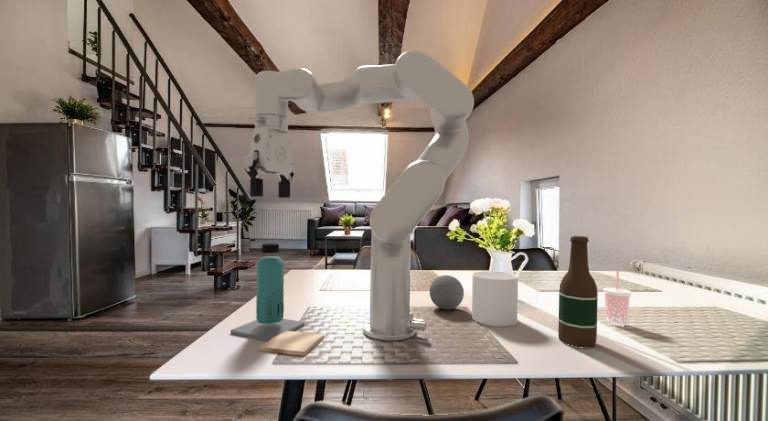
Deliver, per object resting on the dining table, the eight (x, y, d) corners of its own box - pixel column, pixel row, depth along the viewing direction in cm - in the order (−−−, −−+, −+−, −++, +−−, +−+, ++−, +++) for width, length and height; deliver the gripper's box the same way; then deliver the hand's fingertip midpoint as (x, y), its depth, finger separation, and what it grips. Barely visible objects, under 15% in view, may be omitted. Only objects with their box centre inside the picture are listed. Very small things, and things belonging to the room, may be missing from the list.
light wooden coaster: (323, 338, 81) (323, 334, 81) (304, 355, 71) (304, 351, 71) (283, 333, 83) (283, 330, 83) (259, 350, 73) (259, 346, 73)
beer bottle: (582, 351, 75) (585, 238, 75) (550, 339, 82) (552, 235, 82) (604, 345, 79) (607, 237, 79) (572, 334, 86) (574, 234, 86)
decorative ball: (463, 305, 109) (463, 273, 109) (463, 315, 100) (464, 279, 99) (430, 303, 111) (431, 271, 111) (427, 312, 102) (428, 277, 101)
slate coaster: (304, 325, 89) (304, 322, 89) (271, 341, 78) (271, 338, 78) (266, 318, 94) (266, 315, 94) (230, 333, 83) (230, 330, 83)
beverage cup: (626, 329, 90) (627, 274, 89) (599, 323, 94) (600, 270, 94) (633, 324, 94) (634, 271, 93) (607, 319, 98) (608, 268, 98)
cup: (468, 323, 93) (469, 277, 93) (474, 311, 104) (475, 270, 104) (516, 329, 89) (517, 281, 89) (517, 316, 100) (518, 273, 99)
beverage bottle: (279, 330, 83) (280, 244, 82) (250, 330, 83) (252, 244, 83) (287, 321, 89) (288, 242, 89) (261, 321, 89) (262, 241, 89)
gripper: (258, 115, 76) (257, 195, 76) (306, 131, 92) (305, 198, 92) (231, 118, 79) (231, 196, 79) (282, 133, 95) (282, 198, 95)
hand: (271, 197), depth 86 cm, fingers open, 9 cm apart
